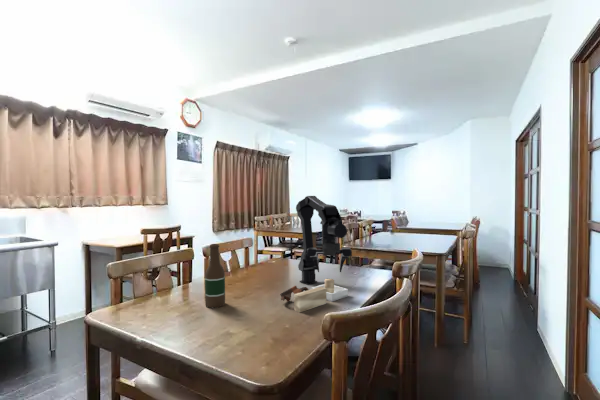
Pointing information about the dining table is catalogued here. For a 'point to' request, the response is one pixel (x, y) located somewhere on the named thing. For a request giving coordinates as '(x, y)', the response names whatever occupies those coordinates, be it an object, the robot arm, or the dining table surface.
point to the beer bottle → (214, 280)
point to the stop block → (309, 299)
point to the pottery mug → (287, 293)
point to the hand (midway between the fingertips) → (329, 272)
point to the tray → (335, 293)
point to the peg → (329, 285)
